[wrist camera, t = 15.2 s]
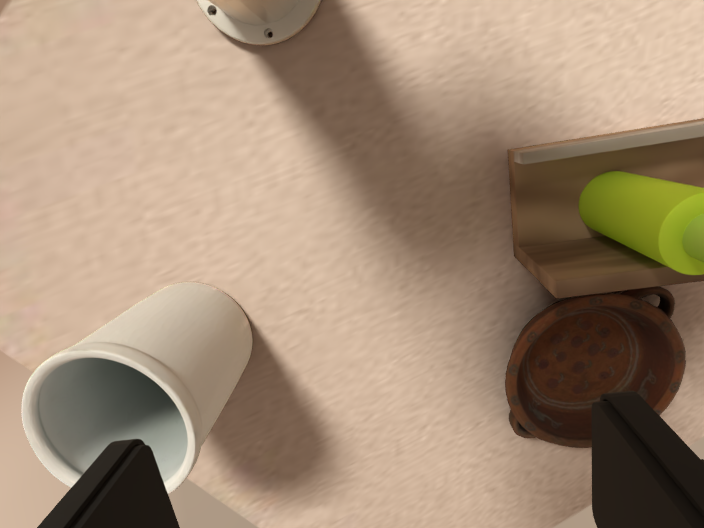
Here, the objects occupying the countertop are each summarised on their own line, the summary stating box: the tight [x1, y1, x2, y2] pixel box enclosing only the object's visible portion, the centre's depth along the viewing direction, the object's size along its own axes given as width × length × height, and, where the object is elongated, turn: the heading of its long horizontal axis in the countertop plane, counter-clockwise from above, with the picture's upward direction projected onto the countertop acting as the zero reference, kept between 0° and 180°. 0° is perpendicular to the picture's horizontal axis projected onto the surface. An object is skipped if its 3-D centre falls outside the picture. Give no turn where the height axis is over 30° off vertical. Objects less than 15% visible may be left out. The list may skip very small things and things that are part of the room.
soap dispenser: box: [579, 171, 704, 275], centre depth 33 cm, size 6×7×20 cm
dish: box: [505, 286, 686, 448], centre depth 47 cm, size 18×22×5 cm
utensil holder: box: [22, 282, 253, 494], centre depth 44 cm, size 15×15×18 cm
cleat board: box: [508, 118, 704, 299], centre depth 38 cm, size 11×18×12 cm, turn 99°
